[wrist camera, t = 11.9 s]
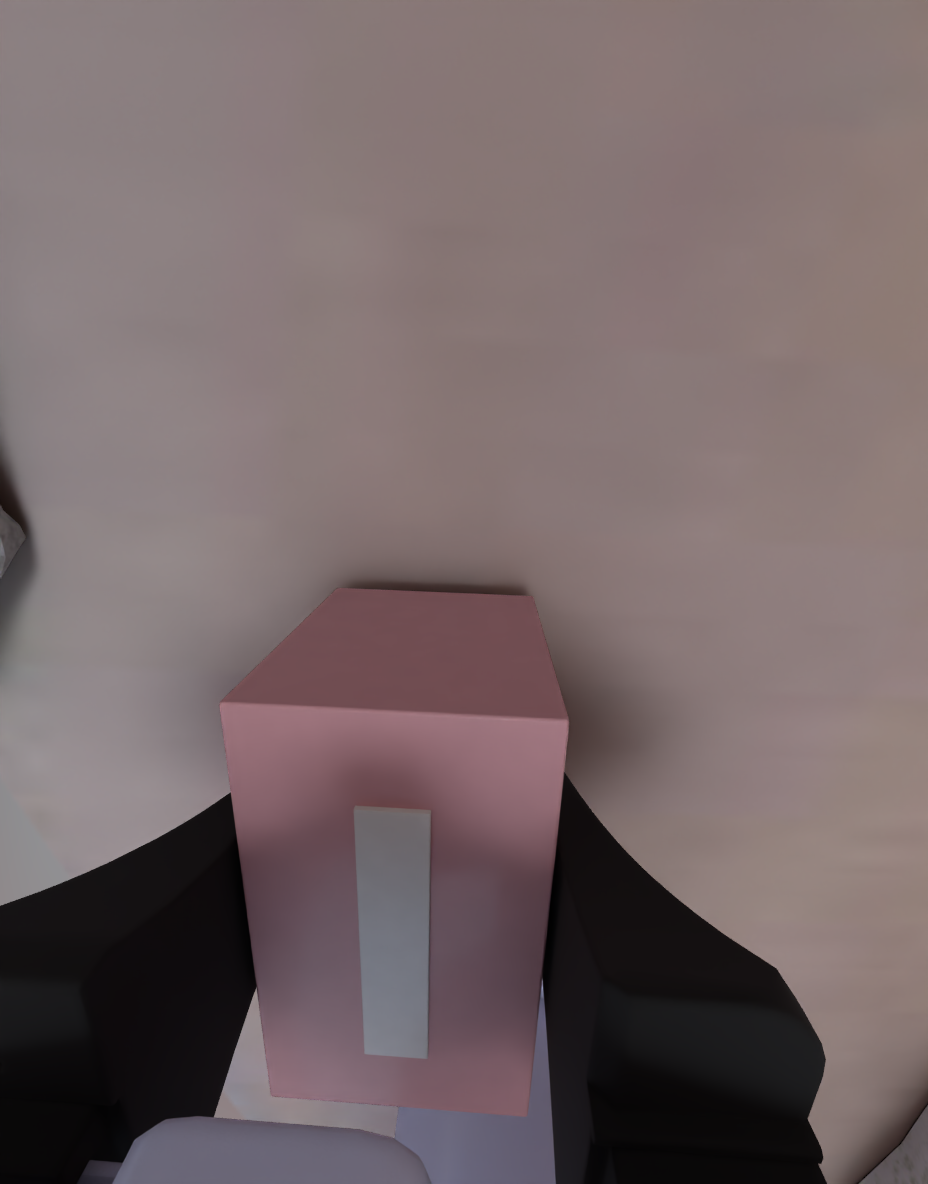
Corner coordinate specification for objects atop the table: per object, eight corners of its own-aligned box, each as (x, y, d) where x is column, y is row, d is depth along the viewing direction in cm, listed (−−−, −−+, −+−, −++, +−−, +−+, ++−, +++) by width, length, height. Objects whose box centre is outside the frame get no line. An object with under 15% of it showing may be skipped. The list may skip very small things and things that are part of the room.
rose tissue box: (533, 595, 13) (572, 724, 7) (513, 867, 15) (528, 1125, 10) (336, 587, 13) (213, 705, 7) (349, 857, 16) (268, 1104, 10)
